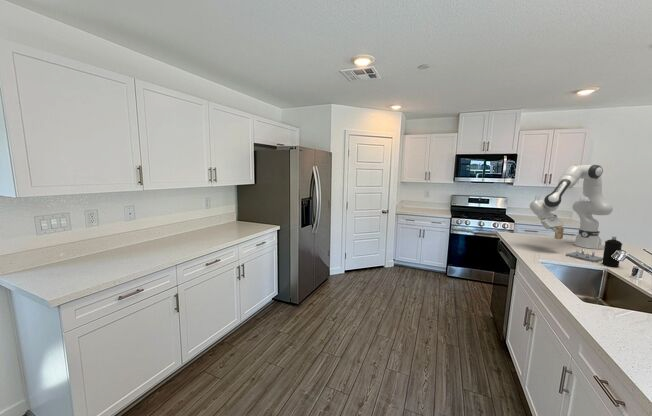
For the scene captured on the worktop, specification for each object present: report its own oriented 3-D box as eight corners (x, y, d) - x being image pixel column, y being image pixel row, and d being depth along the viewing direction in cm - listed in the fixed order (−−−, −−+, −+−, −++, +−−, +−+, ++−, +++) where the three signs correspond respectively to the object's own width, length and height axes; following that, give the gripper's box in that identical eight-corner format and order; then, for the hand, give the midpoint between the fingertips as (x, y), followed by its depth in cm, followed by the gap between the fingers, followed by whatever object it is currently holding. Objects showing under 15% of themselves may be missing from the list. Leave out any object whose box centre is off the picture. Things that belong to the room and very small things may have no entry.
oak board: (557, 237, 211) (559, 226, 210) (562, 238, 208) (563, 227, 207) (554, 238, 209) (555, 226, 208) (559, 239, 206) (560, 227, 205)
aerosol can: (616, 268, 176) (620, 238, 174) (599, 264, 183) (603, 236, 181) (621, 266, 180) (625, 237, 177) (604, 262, 187) (608, 234, 185)
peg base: (575, 253, 208) (576, 247, 208) (604, 260, 193) (605, 253, 192) (565, 255, 203) (566, 249, 202) (595, 262, 187) (596, 255, 187)
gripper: (542, 216, 208) (556, 231, 201) (557, 214, 217) (571, 229, 209) (535, 221, 213) (548, 235, 205) (550, 219, 221) (563, 233, 214)
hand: (560, 232), depth 207 cm, fingers closed on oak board, 5 cm apart
